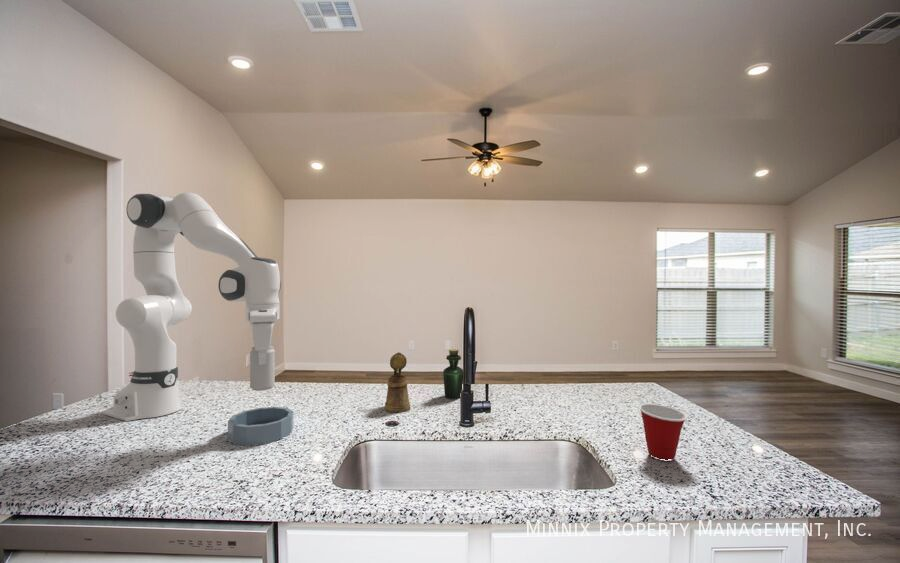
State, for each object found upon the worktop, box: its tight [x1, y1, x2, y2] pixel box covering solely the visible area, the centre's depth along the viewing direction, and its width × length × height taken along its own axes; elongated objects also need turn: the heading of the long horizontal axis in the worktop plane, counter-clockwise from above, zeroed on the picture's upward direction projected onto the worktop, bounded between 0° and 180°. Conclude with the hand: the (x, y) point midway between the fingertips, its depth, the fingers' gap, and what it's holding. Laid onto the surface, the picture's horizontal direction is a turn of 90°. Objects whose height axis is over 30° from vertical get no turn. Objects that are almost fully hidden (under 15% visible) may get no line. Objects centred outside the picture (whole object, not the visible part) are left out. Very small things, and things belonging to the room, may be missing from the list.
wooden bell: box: [384, 352, 411, 413], centre depth 137 cm, size 9×14×18 cm, turn 5°
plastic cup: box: [638, 403, 688, 460], centre depth 99 cm, size 11×11×12 cm
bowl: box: [227, 406, 294, 446], centre depth 112 cm, size 16×16×5 cm
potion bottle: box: [442, 348, 464, 400], centre depth 150 cm, size 8×8×18 cm
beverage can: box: [249, 345, 276, 392], centre depth 112 cm, size 6×6×12 cm
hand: (262, 361), depth 112 cm, fingers closed on beverage can, 6 cm apart
